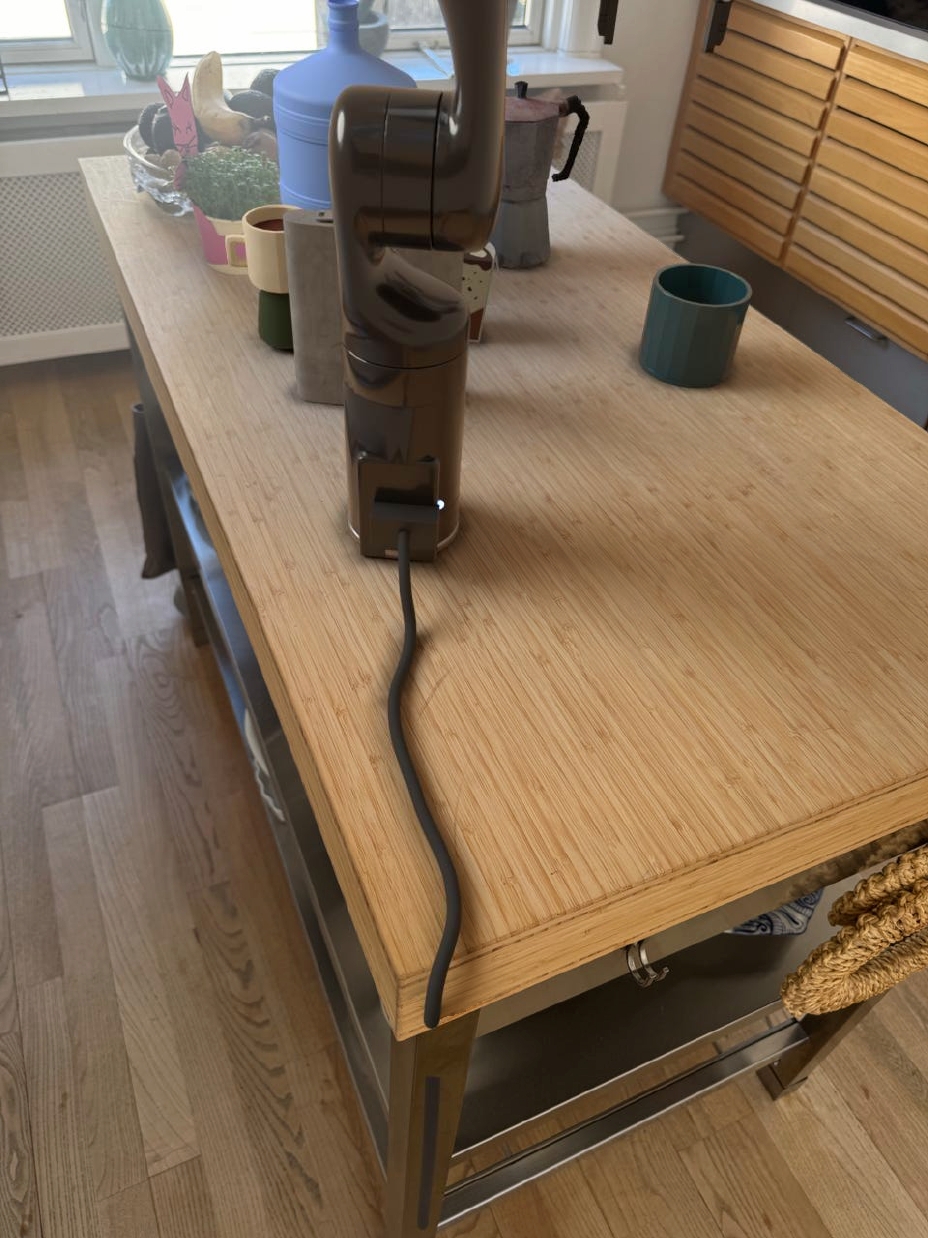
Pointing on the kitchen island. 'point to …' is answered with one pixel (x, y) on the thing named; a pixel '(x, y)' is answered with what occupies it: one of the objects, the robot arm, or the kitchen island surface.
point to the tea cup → (693, 324)
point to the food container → (478, 286)
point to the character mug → (266, 270)
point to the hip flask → (331, 299)
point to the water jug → (321, 105)
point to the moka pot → (531, 175)
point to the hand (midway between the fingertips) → (657, 46)
